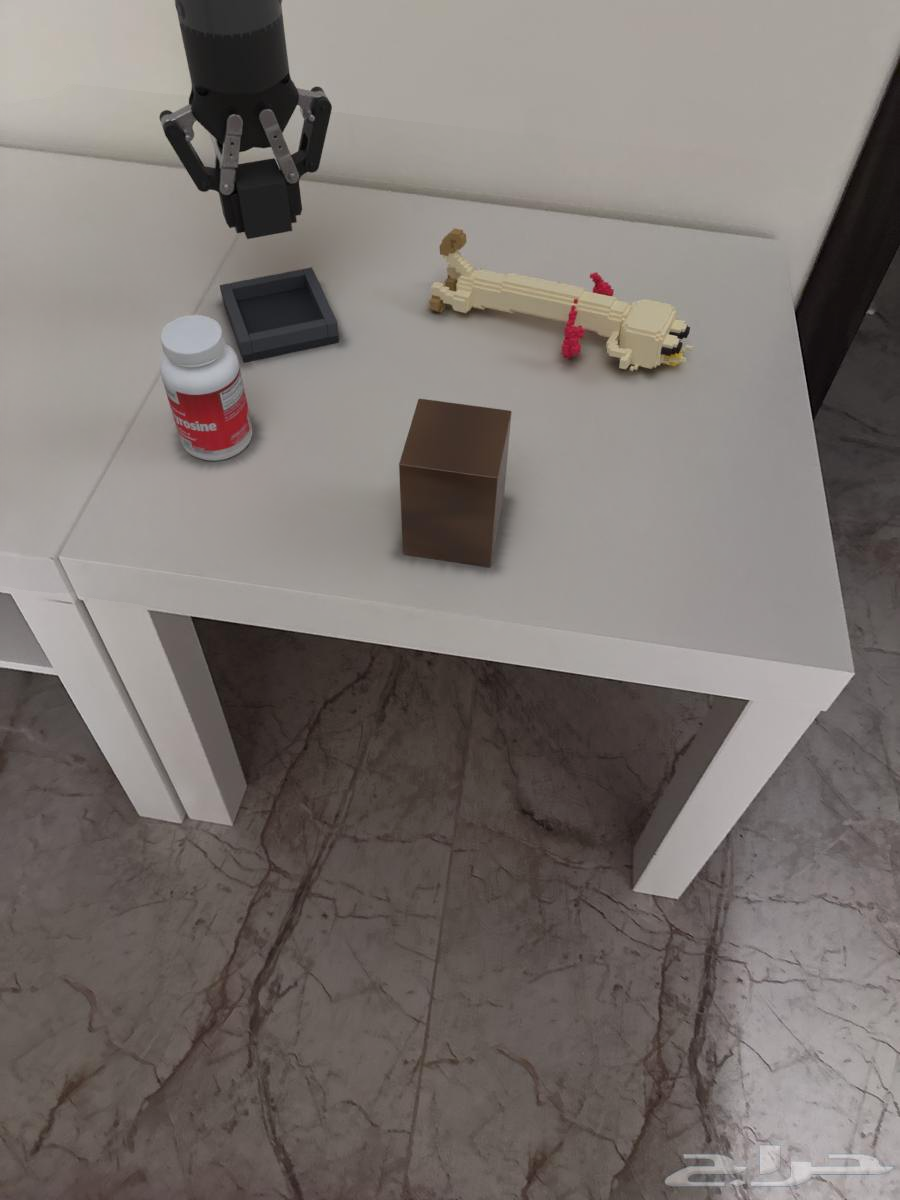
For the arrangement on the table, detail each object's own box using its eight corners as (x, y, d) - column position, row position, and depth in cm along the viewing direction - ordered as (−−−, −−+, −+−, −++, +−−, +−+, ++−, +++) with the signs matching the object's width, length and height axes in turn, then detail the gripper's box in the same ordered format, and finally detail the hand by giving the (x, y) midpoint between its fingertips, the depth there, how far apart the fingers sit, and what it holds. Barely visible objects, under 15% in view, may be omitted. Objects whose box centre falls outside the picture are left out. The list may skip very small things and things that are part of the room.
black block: (247, 239, 80) (238, 189, 76) (237, 215, 82) (228, 165, 78) (292, 231, 80) (285, 181, 77) (281, 207, 83) (274, 157, 79)
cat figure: (421, 337, 90) (671, 396, 83) (413, 255, 84) (684, 312, 76) (464, 282, 96) (702, 333, 88) (459, 201, 89) (717, 249, 81)
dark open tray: (243, 362, 86) (239, 342, 84) (223, 304, 91) (219, 284, 89) (339, 342, 88) (337, 322, 86) (314, 287, 93) (312, 266, 91)
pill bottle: (166, 445, 79) (132, 340, 70) (212, 404, 83) (186, 298, 74) (223, 473, 78) (196, 369, 69) (268, 430, 81) (247, 325, 72)
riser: (402, 554, 73) (398, 464, 65) (420, 490, 77) (418, 397, 69) (490, 567, 72) (497, 478, 64) (503, 502, 76) (511, 410, 68)
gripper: (311, -26, 71) (331, 187, 85) (122, -2, 68) (175, 215, 82) (337, 15, 67) (354, 231, 81) (138, 42, 64) (191, 262, 78)
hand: (264, 222), depth 81 cm, fingers closed on black block, 4 cm apart
